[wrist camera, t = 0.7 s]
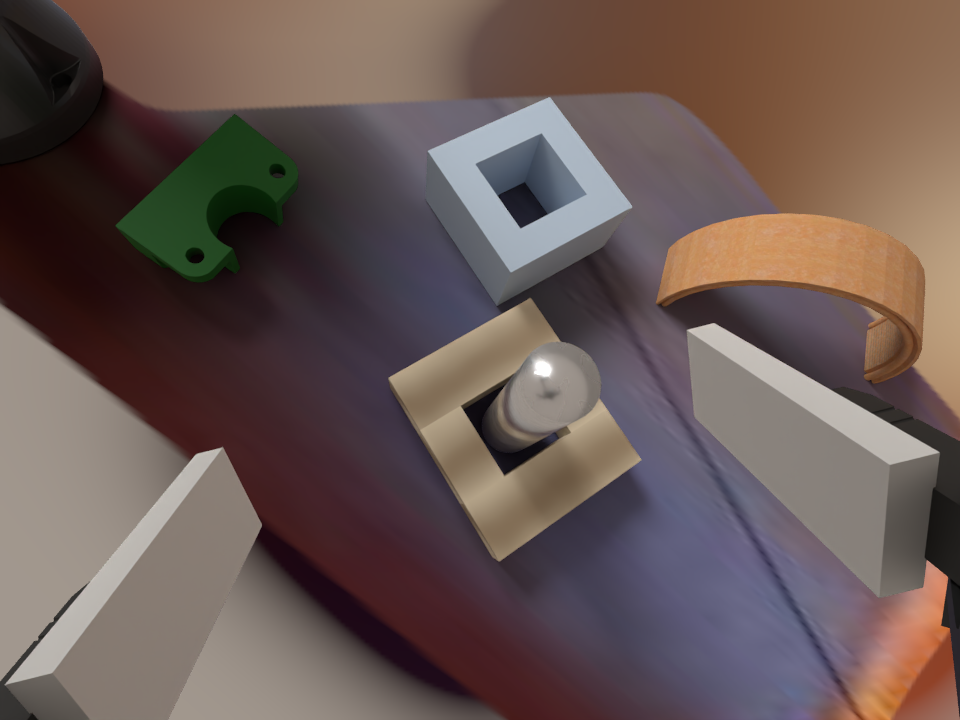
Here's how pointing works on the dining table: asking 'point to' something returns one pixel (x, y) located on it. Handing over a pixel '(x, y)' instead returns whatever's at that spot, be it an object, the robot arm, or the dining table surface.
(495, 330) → the birch block
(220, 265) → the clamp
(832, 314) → the dining table surface
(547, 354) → the steel axle
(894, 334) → the arch
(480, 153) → the slate holder block
